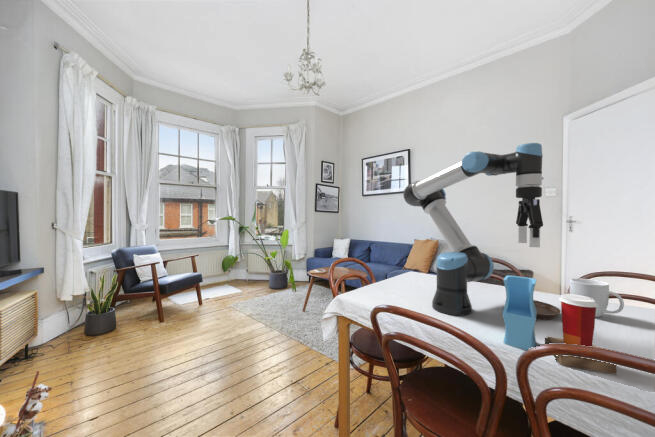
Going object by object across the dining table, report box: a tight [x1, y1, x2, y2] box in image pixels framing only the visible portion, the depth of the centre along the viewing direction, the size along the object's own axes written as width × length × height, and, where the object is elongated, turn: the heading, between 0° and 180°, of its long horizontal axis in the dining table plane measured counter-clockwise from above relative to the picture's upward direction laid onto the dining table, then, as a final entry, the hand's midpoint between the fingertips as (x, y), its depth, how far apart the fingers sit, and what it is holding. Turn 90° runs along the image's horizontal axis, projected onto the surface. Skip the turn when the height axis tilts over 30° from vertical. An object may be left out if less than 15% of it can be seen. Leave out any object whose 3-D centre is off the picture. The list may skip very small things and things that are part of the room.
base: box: [544, 336, 617, 375], centre depth 72 cm, size 11×11×3 cm
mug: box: [569, 277, 625, 318], centre depth 102 cm, size 15×11×13 cm
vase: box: [502, 274, 537, 351], centre depth 81 cm, size 8×8×20 cm
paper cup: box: [558, 293, 598, 346], centre depth 72 cm, size 8×8×14 cm
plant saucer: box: [533, 299, 562, 320], centre depth 106 cm, size 18×18×3 cm
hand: (528, 245), depth 96 cm, fingers open, 13 cm apart
